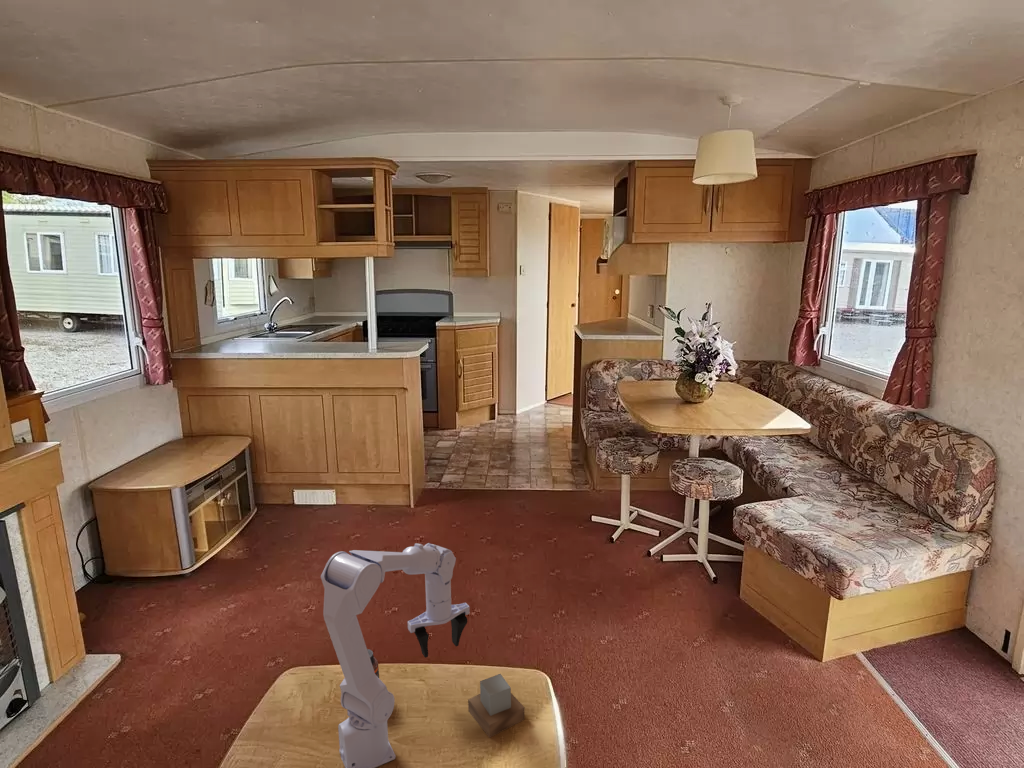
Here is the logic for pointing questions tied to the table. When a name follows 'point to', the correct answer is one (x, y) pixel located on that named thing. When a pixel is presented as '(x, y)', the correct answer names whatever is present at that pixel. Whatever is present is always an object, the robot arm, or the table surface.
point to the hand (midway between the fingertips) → (440, 649)
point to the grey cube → (495, 694)
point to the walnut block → (495, 715)
